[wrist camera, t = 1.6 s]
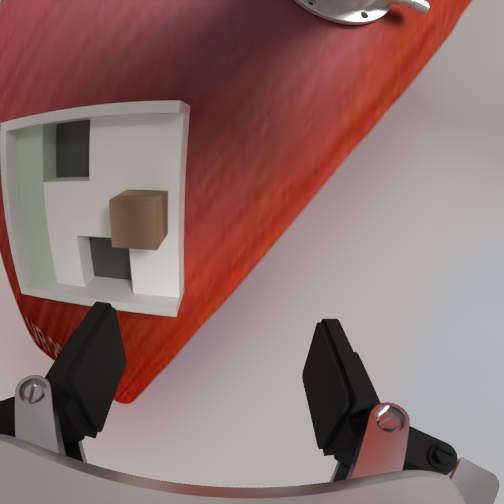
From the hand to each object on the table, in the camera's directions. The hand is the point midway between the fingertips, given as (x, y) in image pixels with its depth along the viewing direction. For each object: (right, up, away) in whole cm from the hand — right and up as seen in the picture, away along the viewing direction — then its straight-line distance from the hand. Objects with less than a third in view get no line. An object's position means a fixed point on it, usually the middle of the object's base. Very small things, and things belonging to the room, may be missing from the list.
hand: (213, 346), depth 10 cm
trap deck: (-15, +9, +17) cm, 25 cm away
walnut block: (-8, +7, +15) cm, 18 cm away
